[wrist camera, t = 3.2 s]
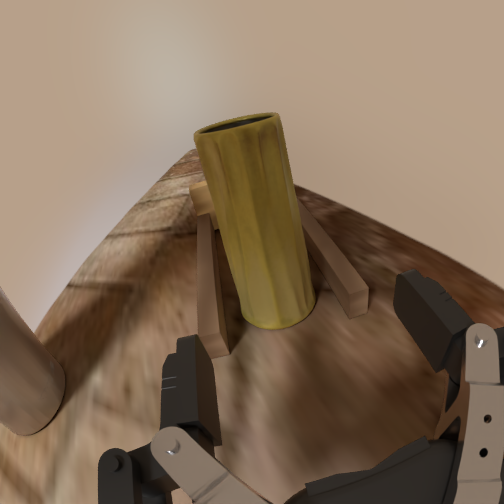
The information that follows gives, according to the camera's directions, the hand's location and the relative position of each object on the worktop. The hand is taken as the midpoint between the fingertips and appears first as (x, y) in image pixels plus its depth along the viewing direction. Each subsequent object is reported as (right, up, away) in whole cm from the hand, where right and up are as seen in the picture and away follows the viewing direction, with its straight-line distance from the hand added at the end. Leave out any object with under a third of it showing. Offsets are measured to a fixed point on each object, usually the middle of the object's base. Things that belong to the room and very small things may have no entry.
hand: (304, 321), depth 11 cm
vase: (0, -2, +13) cm, 13 cm away
